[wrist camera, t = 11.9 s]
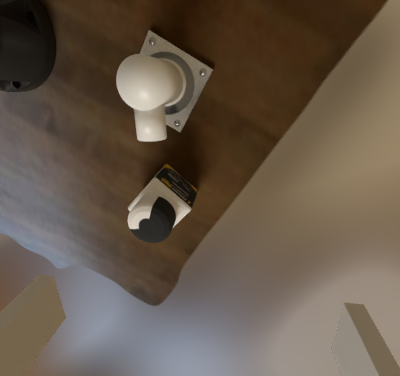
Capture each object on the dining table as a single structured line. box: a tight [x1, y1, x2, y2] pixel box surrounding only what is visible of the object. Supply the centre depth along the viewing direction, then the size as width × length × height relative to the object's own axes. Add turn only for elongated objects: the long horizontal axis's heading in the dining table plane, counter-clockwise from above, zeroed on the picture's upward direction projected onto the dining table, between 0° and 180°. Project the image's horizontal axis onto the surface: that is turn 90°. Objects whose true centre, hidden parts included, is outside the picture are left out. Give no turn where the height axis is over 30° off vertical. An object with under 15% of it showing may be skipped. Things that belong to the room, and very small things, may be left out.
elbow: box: [116, 54, 187, 141], centre depth 32 cm, size 9×6×10 cm, turn 1°
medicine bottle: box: [128, 164, 198, 243], centre depth 38 cm, size 7×7×12 cm
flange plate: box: [140, 30, 213, 132], centre depth 37 cm, size 10×10×1 cm
